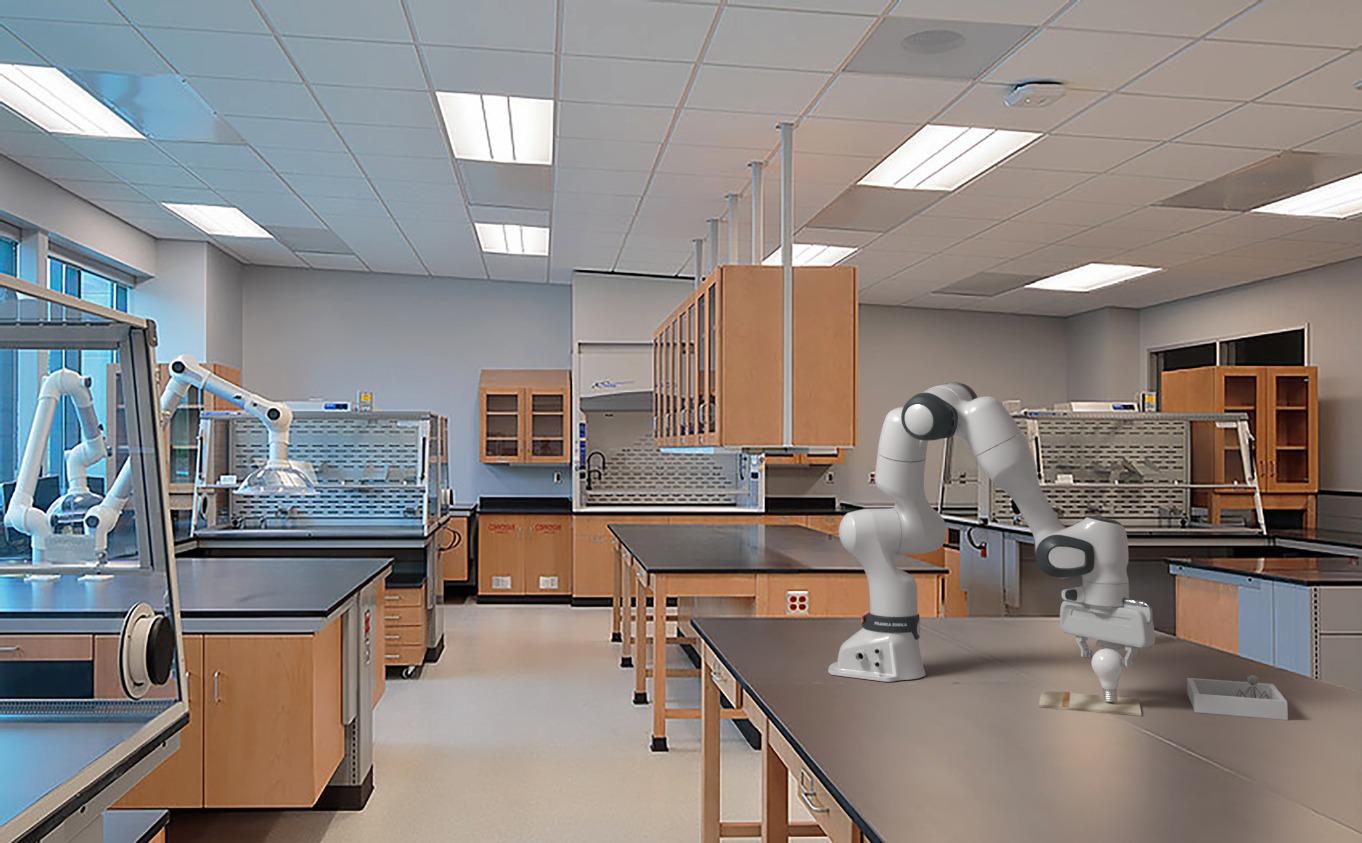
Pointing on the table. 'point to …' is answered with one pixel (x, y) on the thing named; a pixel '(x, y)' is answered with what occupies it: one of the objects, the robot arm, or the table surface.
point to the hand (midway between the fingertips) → (1106, 662)
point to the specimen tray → (1236, 699)
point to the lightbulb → (1108, 672)
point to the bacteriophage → (1253, 681)
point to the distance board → (1089, 703)
